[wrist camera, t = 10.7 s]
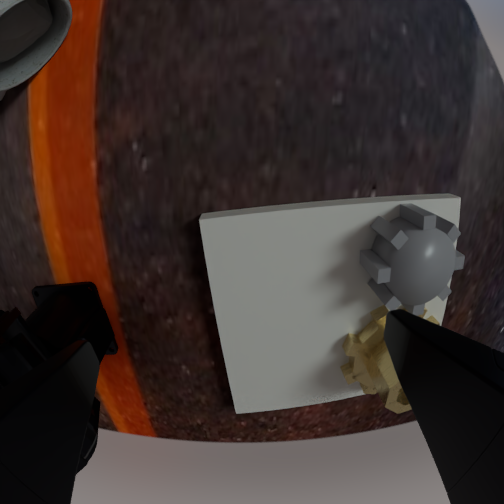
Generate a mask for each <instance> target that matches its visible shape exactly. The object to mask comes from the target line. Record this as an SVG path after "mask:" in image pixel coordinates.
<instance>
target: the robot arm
mask: <svg viewBox="0 0 504 504" xmlns="http://www.w3.org/2000/svg"><path fill="white" fill-rule="evenodd" d="M88 287H90V288H91V289H92V291H91V290H89V288H88ZM37 292H38V293H37ZM32 294H33V297H34V300H35V302H36V305H37V307H38V308H37V309H36V310H35V311H34V312H33V313H32V314H31V315H30V316H29V317H28V318H27V319H26V321H25V320H24V319H23V318H22V316H21V315H20V314H21V313H20V311H19V310H18V309H17V307H15V308H14V309H13V310H12V311H11V312H9V311H6V312H5V311H2V310H0V504H70V503H71V497H72V492H73V487H74V481H75V476H76V474H77V473H78V472H79V471H80V470H81V469H83V468H84V467H85V466H86V465H87V463H88V461H89V459H90V458H91V457H92V455H93V453H94V451H95V448H96V445H97V438H98V423H99V411H100V401H99V400H98V399H97V398H95V397H94V394H95V389H96V383H97V378H98V373H99V365H100V363H101V361H102V359H103V357H104V355H114V354H116V353H117V351H118V345H117V343H116V340H115V338H114V332H113V330H112V327H111V324H110V322H109V319H108V316H107V313H106V311H105V309H104V308H103V305H102V302H101V300H100V297H99V294H98V290H97V287H96V285H95V284H94V283H92V282H79V283H68V284H57V285H46V286H36V287H35V288H34V289H33V290H32ZM384 341H385V344H386V346H387V349H388V352H389V355H390V357H391V360H392V363H393V366H394V369H395V372H396V375H397V377H398V380H399V382H400V385H401V387H402V389H403V391H404V393H405V395H406V397H407V399H408V402H409V404H410V406H411V408H412V410H413V412H414V415H415V417H416V419H417V421H418V423H419V426H420V428H421V430H422V433H423V435H424V437H425V439H426V442H427V444H428V446H429V449H430V451H431V454H432V456H433V458H434V461H435V463H436V466H437V468H438V471H439V473H440V476H441V478H442V481H443V484H444V486H445V489H446V492H447V495H448V498H449V500H450V503H451V504H504V353H502V352H500V351H498V350H495V349H491V347H488V346H486V345H484V344H481V343H479V342H477V341H475V340H472V339H470V338H468V337H465V336H463V335H461V334H458V333H456V332H454V331H451V330H449V329H447V328H444V327H442V326H440V325H437V324H435V323H433V322H430V321H428V320H426V319H423V318H421V317H419V316H416V315H414V314H412V313H409V312H407V311H405V310H402V309H396V310H391V311H389V312H388V313H387V316H386V322H385V329H384ZM112 348H113V349H112Z"/></svg>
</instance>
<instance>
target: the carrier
mask: <svg viewBox="0 0 504 504" xmlns="http://www.w3.org/2000/svg"><path fill="white" fill-rule="evenodd" d="M460 202H461V198H460V197H457V196H455V195H452V194H449V193H448V194H423V195H402V196H385V197H369V198H355V199H341V200H329V201H317V202H305V203H294V204H284V205H274V206H264V207H255V208H245V209H236V210H228V211H219V212H211V213H203V214H201V217H200V219H199V223H200V229H201V235H202V242H203V248H204V254H205V260H206V266H207V271H208V277H209V283H210V288H211V294H212V299H213V305H214V310H215V315H216V321H217V326H218V331H219V336H220V341H221V346H222V351H223V356H224V360H225V365H226V370H227V375H228V379H229V384H230V388H231V393H232V397H233V402H234V406H235V411H236V414H238V413H250V412H260V411H270V410H278V409H286V408H293V407H300V406H306V405H313V404H318V403H324V402H330V401H335V400H340V399H345V398H349V397H354V396H359V395H363V394H364V393H363V390H362V388H361V386H360V382H358V381H356V382H354V383H352V384H349V385H348V383H347V381H346V379H345V377H344V375H343V373H342V370H341V368H340V366H342V365H344V364H346V363H348V362H349V356H346V354H345V351H344V349H343V347H342V345H343V343H344V341H345V339H346V337H347V335H348V333H351V334H358V333H359V332H360V331H361V330H362V329H363V328H364V327H365V326H367V325H368V324H369V323H370V322H371V321H372V317H371V314H370V312H371V311H373V310H375V309H377V308H378V307H380V306H382V305H385V306H386V307H387V309H388V310H389V311H391V310H396V309H403V308H405V309H406V310H407V311H408V312H409V313H412V314H414V315H416V316H417V315H422V314H423V313H424V308H426V309H427V312H426V314H425V316H424V318H423V319H427V318H429V317H430V316H432V315H433V317H434V318H435V319H436V320H437V321H438V322H439V323H440V326H441V324H442V320H443V315H444V311H445V307H446V302H447V297H448V295H449V294H450V293H451V292H452V291H451V290H450V282H451V277H452V274H453V271H454V270H458V269H463V264H464V258H465V256H464V255H463V254H461V253H460V252H458V251H457V250H456V244H457V238H458V237H459V235H460V234H461V233H460V231H459V230H458V226H459V215H460Z"/></svg>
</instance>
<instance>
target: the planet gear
mask: <svg viewBox="0 0 504 504" xmlns="http://www.w3.org/2000/svg"><path fill="white" fill-rule="evenodd" d="M402 310H405V311H407V310H406V309H405V308H403V309H402ZM388 312H389V310H388V309H387V307H386V306H385V305H382V306H380V307H378V308H377V309H375V310H373V311H371V312H370V314H371V317H372V321H371V322H370V323H369V324H368V325H367V326H365V327H364V328H363V329H362V330H361V331H360V332H359V333H358V334H351V333H348V335H347V337H346V339H345V341H344V343H343V345H342V347H343V349H344V351H345V354H346V356H349V362H348V363H346V364H344V365H342V366H340V368H341V370H342V373H343V375H344V377H345V379H346V381H347V383H348V385H349V384H352V383H354V382H356V381H358V382H360V386H361V388H362V390H363V393H364V394H376V392H377V391H378V394H379V396H380V398H381V400H382V402H383V404H384V406H385V407H386V408H388V409H390V410H392V411H394V412H396V413H401V412H405V411H408V410H411V409H412V408H411V406H410V404H409V402H408V399H407V397H406V395H405V393H404V391H403V389H402V387H401V385H400V382H399V380H398V377H397V375H396V372H395V369H394V366H393V363H392V360H391V357H390V355H389V352H388V349H387V346H386V344H385V341H384V329H385V322H386V316H387V313H388ZM407 312H408V311H407ZM426 312H427V309H426V308H424V313H423V314H422V315H417V316H419V317H421V318H424V316H425V314H426ZM426 320H428V321H430V322H433V323H435V324H437V325H440V323H439V322H438V321H437V320H436V319H435V318H434V317H433V315H432V316H430V317H429V318H427V319H426Z"/></svg>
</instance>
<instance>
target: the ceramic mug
mask: <svg viewBox="0 0 504 504" xmlns="http://www.w3.org/2000/svg"><path fill="white" fill-rule="evenodd" d="M71 20H72V8H71V5H70V2H69V0H0V101H1V100H2V98H3V97H4V95H5V93H6V91H7V90H9V89H11V88H13V87H16V86H18V85H19V84H21V83H23V82H24V81H26V80H27V79H29V78H30V77H31V76H33V75H34V74H35V73H36V72H37V71H39V70H40V69H41V68H42V67H43V66H44V65H45V64H46V63H47V62H48V61H49V59H50V58H51V57H52V56H53V55H54V54H55V52H56V51H57V50H58V48H59V47H60V45H61V44H62V42H63V41H64V39H65V37H66V35H67V33H68V30H69V27H70V25H71Z"/></svg>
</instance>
